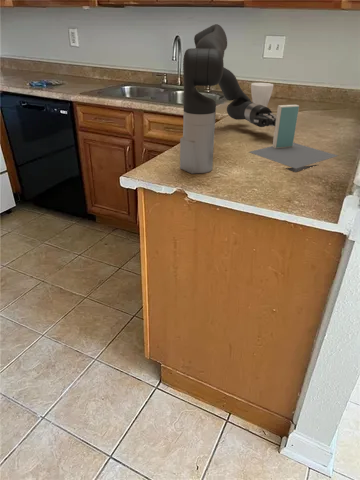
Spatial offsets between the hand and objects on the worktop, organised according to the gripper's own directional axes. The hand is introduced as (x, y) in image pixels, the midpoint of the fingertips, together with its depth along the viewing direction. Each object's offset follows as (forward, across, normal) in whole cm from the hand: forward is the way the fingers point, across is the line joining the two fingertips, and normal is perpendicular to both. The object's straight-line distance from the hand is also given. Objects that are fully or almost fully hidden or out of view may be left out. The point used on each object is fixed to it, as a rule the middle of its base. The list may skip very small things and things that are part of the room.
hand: (281, 125), depth 133 cm
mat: (+11, -1, +8) cm, 13 cm away
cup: (-54, +22, +8) cm, 59 cm away
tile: (+2, 0, +7) cm, 7 cm away
